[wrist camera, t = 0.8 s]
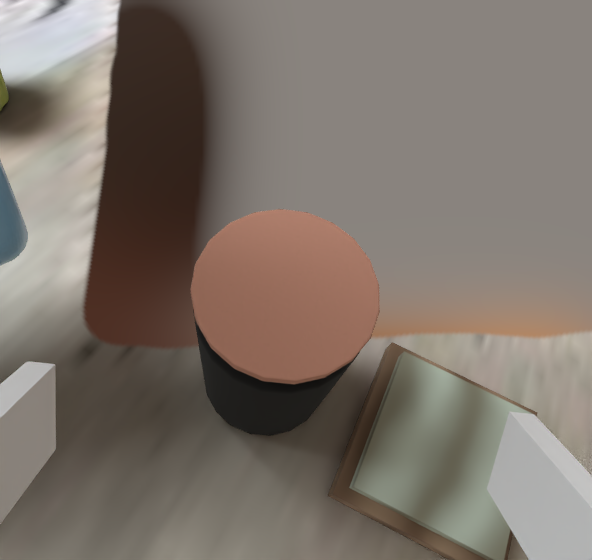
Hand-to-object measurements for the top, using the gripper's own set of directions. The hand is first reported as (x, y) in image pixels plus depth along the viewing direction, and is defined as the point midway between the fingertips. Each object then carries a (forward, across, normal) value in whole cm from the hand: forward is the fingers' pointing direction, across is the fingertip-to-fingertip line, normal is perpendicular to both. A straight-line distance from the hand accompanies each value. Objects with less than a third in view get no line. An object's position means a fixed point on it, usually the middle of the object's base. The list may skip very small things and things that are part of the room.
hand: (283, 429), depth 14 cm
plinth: (+23, +15, -16) cm, 32 cm away
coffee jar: (+26, 0, -12) cm, 29 cm away
